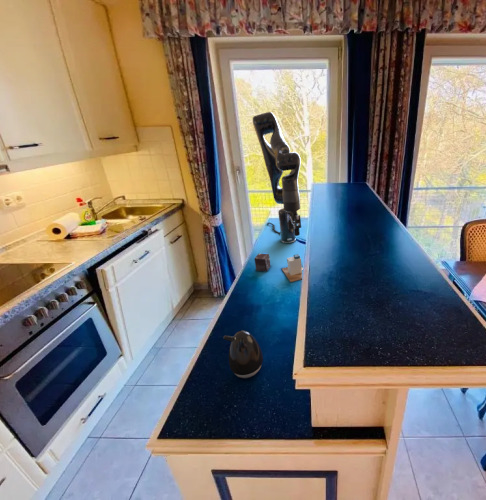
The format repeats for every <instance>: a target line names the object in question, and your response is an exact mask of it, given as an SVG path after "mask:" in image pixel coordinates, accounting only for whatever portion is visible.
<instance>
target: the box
mask: <svg viewBox="0 0 486 500" xmlns="http://www.w3.org/2000/svg"><path fill="white" fill-rule="evenodd" d="M253 259H254V266H255V271H256V272H268V271H269V269H270V268H271V265H272V264H271V257H270V253H257V255H255V257H254V258H253Z"/></svg>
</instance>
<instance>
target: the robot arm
mask: <svg viewBox="0 0 486 500" xmlns="http://www.w3.org/2000/svg"><path fill="white" fill-rule="evenodd" d="M252 125H253V128H254V131H255V134H256V137H257V140H258V143H259V146H260V149H261V152H262V156H263V160H264V164H265V168H266V172H267V174H268V178H269V181H270V185H271V192H272V195H273V200H274V202H275V203H276V204H277V205H278V204H280V205H283V207H282V208H280V209H278V211H277V213H278V223H279V231H277V230H276V229H275V224H274V223H272V222H267V223H266V224H267V225H271V226H272V230H273V231H274V232H275V233H276V234H279V235H280V242H281V243H283V244H293V243H295V242H296V240H297V238H296V237H297V236H298V237H299V236H300V234H301V233H300V229H301V228H302V222H301V221H302V220H301V219H302V218H301V215H300V214H299V213H298V212H299V211H300V209H301V199H300V191H299V173H300V169H301V165H302V164H301V162H302V161H301V160H302V159H301V157H300V154H299V153H298V152H296V151H291V148H290V146H289V144H288V143H287V142H286V140H285V138H284V135H283V133H282V130H281V127H280V125H279V123H278V120H277V118H276V116H275V114H274V113H273V112H271V111H268V112H264V113H261V114H257V115H254V116H253V117H252ZM270 134H271V137H270V140H269V142H268V141H267V140H266V138H265V136H266V135H270ZM284 171H290V172H289V173H288V174H286V175H284V176H283V173H284ZM280 180H281V187H280Z"/></svg>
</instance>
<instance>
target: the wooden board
mask: <svg viewBox="0 0 486 500" xmlns="http://www.w3.org/2000/svg"><path fill="white" fill-rule="evenodd" d="M303 269H304V268H303V267H302V270H303ZM281 270H282V271H283V273H284V275H285V276H286V278H287V280H288V281H289V282H290V283H294V282H297V281H301V280H303V279H302V273H299V274H295V275H292V276H291V275H290V274H289V272H288V266H287V267H282V268H281Z"/></svg>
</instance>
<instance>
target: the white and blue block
mask: <svg viewBox="0 0 486 500" xmlns="http://www.w3.org/2000/svg"><path fill="white" fill-rule="evenodd" d="M286 262H287V267H288V272H289V274H290V275H291V276H292V275H295V274H299V273H302V268H303V267H302V258H301V256H300V254H298V253H296V254H293V256H290V257H287V258H286Z"/></svg>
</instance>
